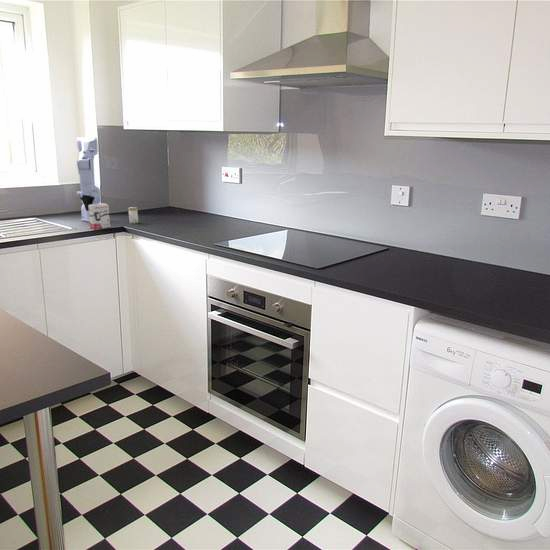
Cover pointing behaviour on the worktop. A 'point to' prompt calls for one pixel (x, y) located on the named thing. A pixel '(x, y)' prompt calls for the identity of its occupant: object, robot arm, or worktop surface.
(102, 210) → the ink box
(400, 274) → the worktop surface
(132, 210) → the spice jar
